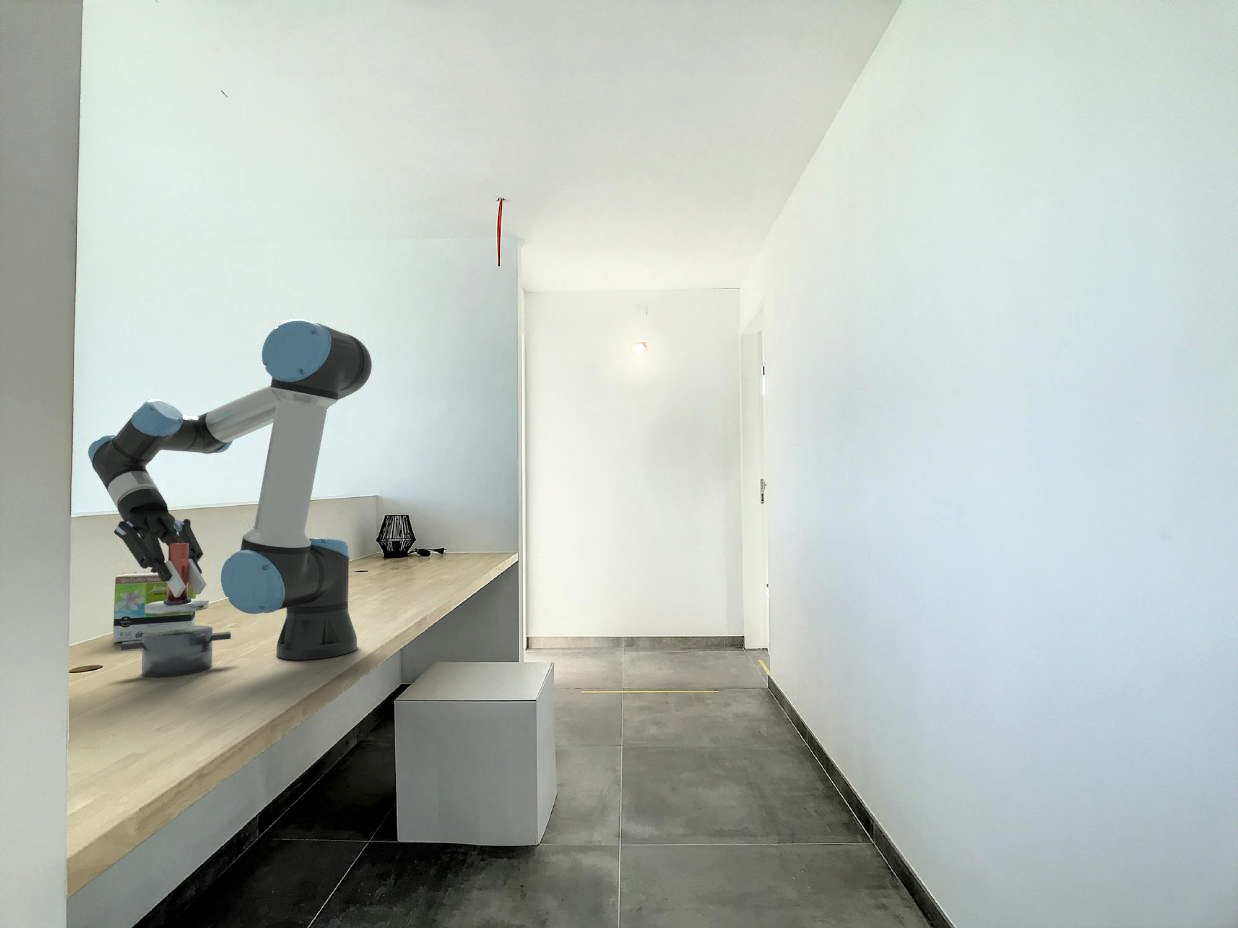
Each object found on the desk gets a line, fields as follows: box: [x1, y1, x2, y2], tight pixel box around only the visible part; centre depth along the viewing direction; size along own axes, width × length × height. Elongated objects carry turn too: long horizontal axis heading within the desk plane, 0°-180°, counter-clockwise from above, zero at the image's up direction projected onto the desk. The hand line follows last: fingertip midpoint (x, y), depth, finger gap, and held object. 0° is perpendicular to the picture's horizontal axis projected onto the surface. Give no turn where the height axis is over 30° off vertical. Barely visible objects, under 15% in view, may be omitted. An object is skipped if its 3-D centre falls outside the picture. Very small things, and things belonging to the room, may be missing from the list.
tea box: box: [112, 570, 197, 644], centre depth 161 cm, size 15×10×15 cm, turn 117°
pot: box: [120, 625, 232, 678], centre depth 130 cm, size 17×11×7 cm, turn 121°
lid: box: [145, 543, 209, 614], centre depth 130 cm, size 10×10×12 cm
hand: (191, 590), depth 128 cm, fingers closed on lid, 3 cm apart
